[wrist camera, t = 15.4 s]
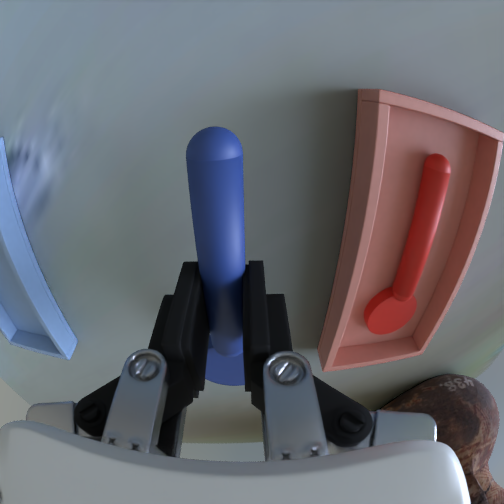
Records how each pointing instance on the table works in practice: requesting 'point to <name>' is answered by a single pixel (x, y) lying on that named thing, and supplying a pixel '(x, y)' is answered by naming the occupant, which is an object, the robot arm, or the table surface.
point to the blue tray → (26, 285)
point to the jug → (460, 426)
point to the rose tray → (405, 222)
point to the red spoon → (412, 252)
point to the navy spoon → (220, 245)
